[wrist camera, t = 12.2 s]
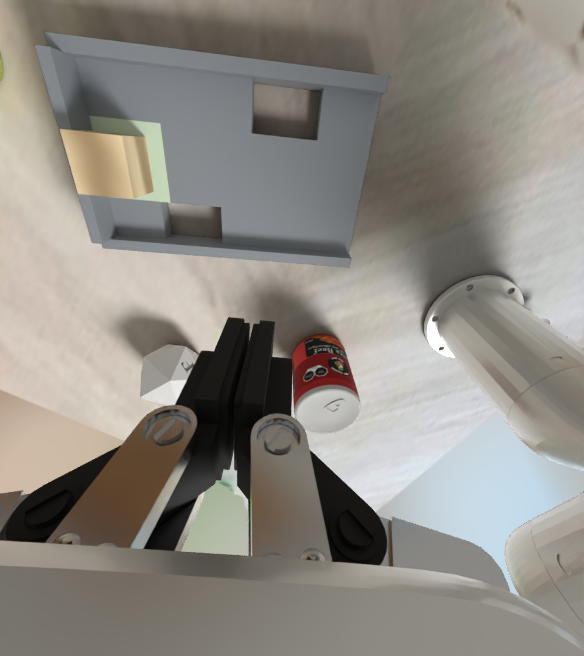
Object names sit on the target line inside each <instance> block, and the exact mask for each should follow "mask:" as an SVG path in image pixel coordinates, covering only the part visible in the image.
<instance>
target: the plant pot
mask: <svg viewBox="0 0 584 656" xmlns="http://www.w3.org/2000/svg"><path fill="white" fill-rule="evenodd" d="M2 77H3V62H2V58H1V54H0V81H1V80H2Z"/></svg>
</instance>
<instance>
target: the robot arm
mask: <svg viewBox="0 0 584 656" xmlns="http://www.w3.org/2000/svg"><path fill="white" fill-rule="evenodd" d="M274 329H275V322H272V321H262V320H260V323H259V324H254V325H253V329H252V333H251V337H250V341H249V333H250V324H249V323H244V319H241V318H231V317H229V318H228V319H227V322H226V324H225V327H224V329H223V331H222V334H221V336H220V339H219V341H218V343H217V346H216V348H215V350H214V352H213V351H201V352H200V354H199V356H198V358H197V360H196V362H195V364H194V366H193V368H192V370H191V373H190V375H189V377H188V379H187V381H186V383H185V385H184V387H183V389H182V391H181V393H180V395H179V397H178V399H177V401H176V403H175V405H169V406H163V407H161V408H158V409H155V410H154V411H152V412H150V413H149V414H147V415H146V416H145V417H144V418H143V419H142V420H141V421H140V422H139V424H138V425H137V426H136V428H135V429H134V430H133V431H132V433H131V434H130V435H129V437H128V438H127V439H126V440H125V442H124V443H123V444H122V445H121V446H119V447H117V448H115V449H113V450H111V451H109V452H107V453H105V454H103V455H101V456H99V457H98V458H95V459H93V460H92V461H90V462H88V463H86V464H84V465H82V466H80V467H78V468H76V469H74V470H72V471H70V472H68V473H66V474H65V475H63V476H61V477H59V478H57V479H55V480H53V481H51V482H49V483H47V484H45V485H43V486H42V487H40V488H39V489H37V490H36V491H34V492H32V493H31V494H25V492H24V491H23V490H22V491H15V492H8V493H1V494H0V656H584V492H582V493H580V495H578V496H576V497H574V498H572V499H571V500H569V501H566V502H564V503H563V504H561V505H559V506H557V507H555V508H553V509H551V510H549V511H547V512H545V513H543V514H541V515H539V516H537V517H536V518H534V519H532V520H530V521H528V522H526V523H524V524H523V525H521V526H520V527H518V528H517V529H516V530H514V531H513V532H512V533H511V535H510V536H509V537H508V539H507V541H506V545H505V561H506V565H507V569H508V572H509V575H510V577H511V580H512V582H513V584H514V586H515V588H516V591H517V592H518V594H519V596H518V595H515V594H513V593H511V592H510V590H509V586H508V583H507V581H506V579H505V577H504V574H503V572H502V570H501V569H500V567H499V566H498V565H497V563H496V562H495V561H494V559H493V558H492V557H491V556H490V555H489V554H488V553H487V552H485V551H484V550H483V549H482V548H481V547H479V546H477V545H475V544H473V543H471V542H469V541H466V540H463V539H460V538H456V537H453V536H450V535H447V534H444V533H441V532H438V531H435V530H432V529H429V528H426V527H422V526H419V525H416V524H413V523H410V522H407V521H404V520H401V519H397V518H395V517H391V518H390V520H388V519H385V518H382V517H379V516H378V515H377V514H376V513H375V511H374V510H373V509H372V508H371V507H370V506H369V505H368V504H367V503H366V502H365V501H364V500H362V499H361V498H360V497H359V496H358V495H357V494H356V493H355V492H354V491H353V490H352V489H351V488H350V487H349V486H348V485H347V484H346V483H344V482H343V481H342V480H341V479H340V478H339V477H338V476H337V475H336V474H335V473H334V472H333V471H332V470H331V469H330V468H329V467H327V466H326V465H325V464H324V463H323V462H322V461H321V460H320V459H319V458H318V457H317V456H316V455H315V454H314V453H313V452H312V451H310V450H309V445H308V440H307V435H306V432H305V430H304V427H303V426H302V425H301V424H300V422H299V421H297V420H296V419H295V418H293V417H291V403H292V359H289V358H278V357H272V353H273V341H274ZM424 334H425V338H426V339H427V341H428V343H429V344H430V346H431V347H432V348H433V349H434V350H435V351H436V352H438V353H440V354H442V355H444V356H449V357H455V358H456V360H457V361H458V362H459V363H460V365H461V366H462V367H463V368H464V370H465V371H466V372H467V373H468V375H469V376H470V377H471V378H472V380H473V381H474V382H475V383H476V385H477V386H478V387H479V388H480V390H481V391H482V392H483V393H484V395H485V396H486V397H487V398H488V400H489V401H490V402H491V403H492V405H493V406H494V407H495V408H496V410H497V411H498V412H499V413H500V415H501V416H502V417H503V418H504V420H505V421H506V422H507V423H508V425H509V426H510V427H511V428H512V430H513V431H514V432H515V433H516V434H517V436H518V437H519V438H520V439H521V440H522V441H523V442H524V443H525V444H526V445H527V446H528V447H529V448H530V449H532V450H533V451H534V452H536V453H537V454H539V455H541V456H542V457H544V458H546V459H549V460H551V461H553V462H556V463H559V464H561V465H564V466H568V467H571V468H574V469H577V470H581V471H584V348H583V347H581V346H580V345H578V344H577V343H575V342H574V341H572V340H571V339H569V338H568V337H567V336H565V335H564V334H562V333H561V332H559V331H558V330H556V329H555V328H553V327H552V326H550V321H549V320H548V319H541V318H539V317H537V316H536V315H534V314H533V313H531V312H530V311H529V310H527V309H526V308H524V299H523V295H522V292H521V291H520V289H519V288H518V287H517V286H516V285H515V284H514V283H512V282H511V281H509V280H507V279H505V278H503V277H499V276H495V275H482V276H476V277H472V278H468V279H466V280H463V281H461V282H459V283H457V284H455V285H454V286H452V287H450V288H449V289H447V290H446V291H445V292H444V293H442V294H441V295H440V296H439V297H438V298H437V300H436V301H435V302H434V303H433V305H432V306H431V307H430V309H429V311H428V313H427V315H426V318H425V322H424ZM233 452H234V470H237V486H238V487H239V488H240V490H241V491H242V492H243V494H244V495H245V496H246V498H247V499H248V556H241V555H226V554H210V553H195V552H181V550H182V547H183V545H184V543H185V540H186V538H187V536H188V533H189V531H190V529H191V526H192V524H193V522H194V519H195V517H196V514H197V512H198V510H199V507H200V505H201V503H202V500H203V497H204V491H206V490H207V489H209V488H210V487H211V486H213V485H214V484H215V482H216V480H221V477H222V473H223V469H225V470H229V469H230V466H231V461H232V456H233Z"/></svg>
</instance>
